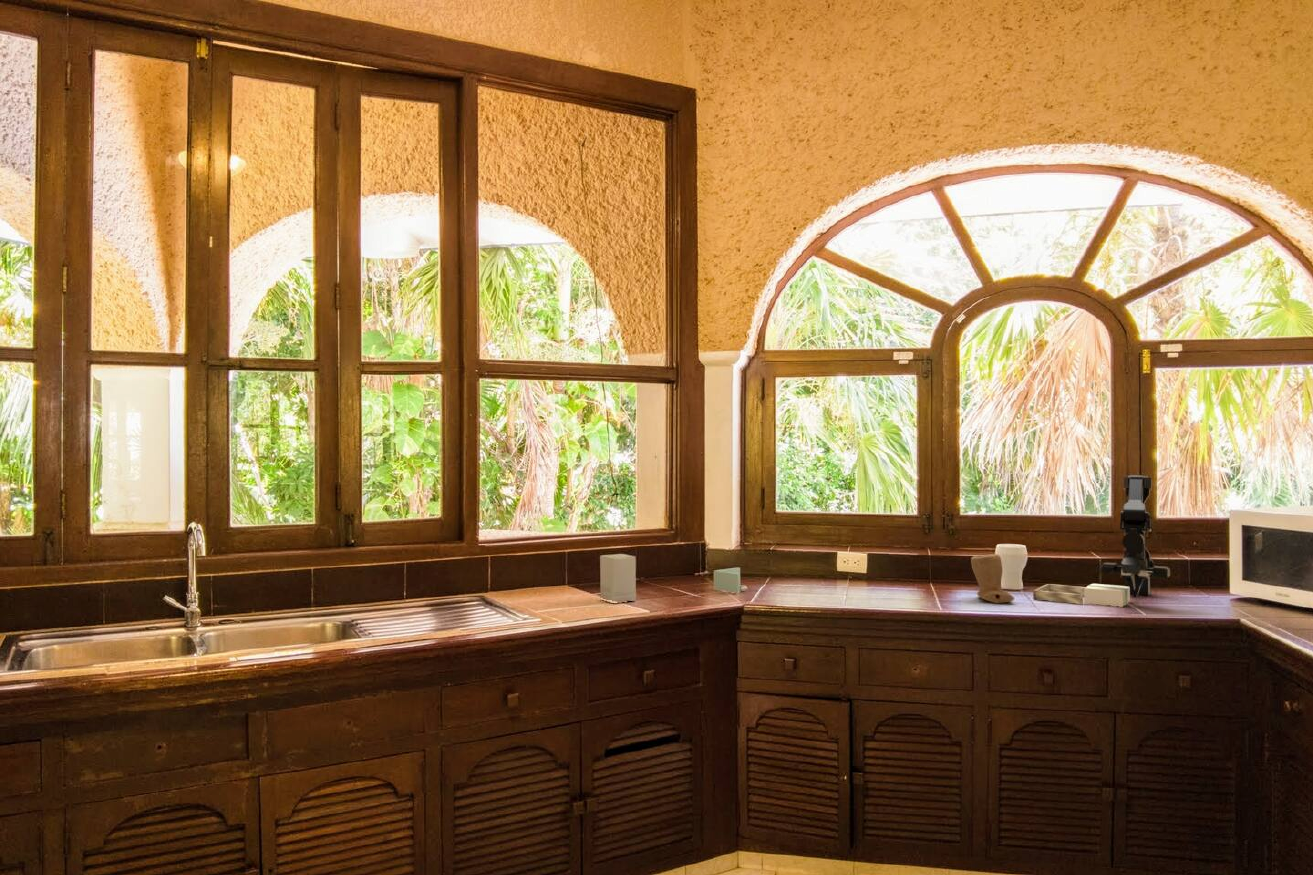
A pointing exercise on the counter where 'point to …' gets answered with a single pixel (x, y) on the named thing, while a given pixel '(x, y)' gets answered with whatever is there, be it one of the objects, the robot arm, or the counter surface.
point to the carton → (1107, 594)
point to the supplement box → (618, 577)
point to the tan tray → (1059, 593)
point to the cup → (1012, 564)
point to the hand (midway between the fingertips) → (1135, 597)
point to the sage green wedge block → (728, 580)
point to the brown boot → (990, 578)
